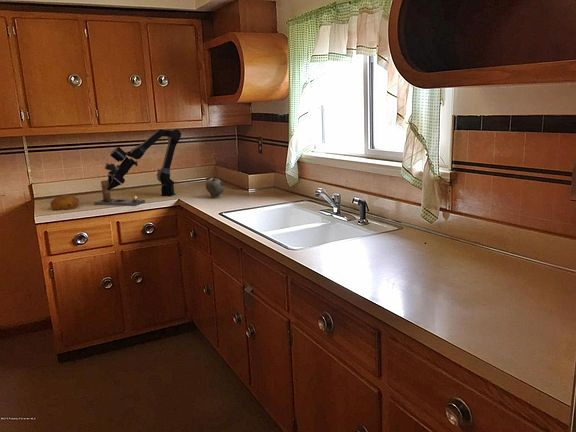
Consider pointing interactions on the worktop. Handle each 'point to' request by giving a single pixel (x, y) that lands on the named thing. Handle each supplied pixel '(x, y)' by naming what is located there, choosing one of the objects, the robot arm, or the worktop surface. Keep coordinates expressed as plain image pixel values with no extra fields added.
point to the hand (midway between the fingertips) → (106, 188)
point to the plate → (121, 202)
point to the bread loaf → (64, 202)
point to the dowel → (105, 191)
